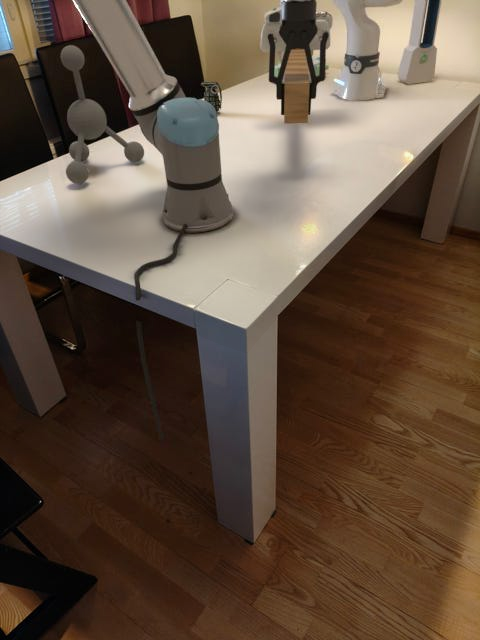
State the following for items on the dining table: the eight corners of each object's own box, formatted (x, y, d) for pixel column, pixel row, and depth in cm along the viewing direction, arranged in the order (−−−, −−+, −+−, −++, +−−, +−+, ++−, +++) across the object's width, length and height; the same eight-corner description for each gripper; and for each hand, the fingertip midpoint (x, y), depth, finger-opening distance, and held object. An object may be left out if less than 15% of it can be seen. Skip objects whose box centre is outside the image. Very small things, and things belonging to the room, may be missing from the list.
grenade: (202, 115, 171) (199, 84, 165) (206, 110, 175) (204, 80, 169) (220, 115, 169) (217, 84, 163) (224, 111, 174) (222, 80, 167)
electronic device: (405, 84, 191) (419, -7, 173) (396, 80, 197) (408, -9, 178) (434, 81, 193) (450, -10, 175) (423, 77, 199) (438, -11, 181)
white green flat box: (294, 54, 218) (335, 57, 208) (294, 70, 222) (334, 73, 212) (263, 65, 202) (305, 69, 192) (263, 82, 206) (304, 86, 196)
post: (307, 123, 113) (309, 82, 108) (284, 123, 113) (284, 83, 108) (303, 74, 152) (304, 43, 147) (285, 75, 153) (286, 43, 147)
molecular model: (155, 174, 129) (135, 45, 110) (70, 190, 123) (34, 57, 104) (137, 148, 146) (116, 33, 128) (61, 161, 140) (29, 42, 122)
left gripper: (341, -5, 106) (333, 108, 120) (256, -2, 107) (258, 109, 122) (344, -1, 100) (335, 117, 114) (254, 2, 101) (256, 118, 116)
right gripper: (332, 9, 138) (329, 63, 147) (260, 13, 140) (261, 66, 149) (333, 12, 133) (330, 68, 142) (259, 16, 135) (260, 71, 144)
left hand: (295, 113), depth 118 cm, fingers closed on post, 6 cm apart
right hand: (294, 67), depth 145 cm, fingers closed on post, 5 cm apart
